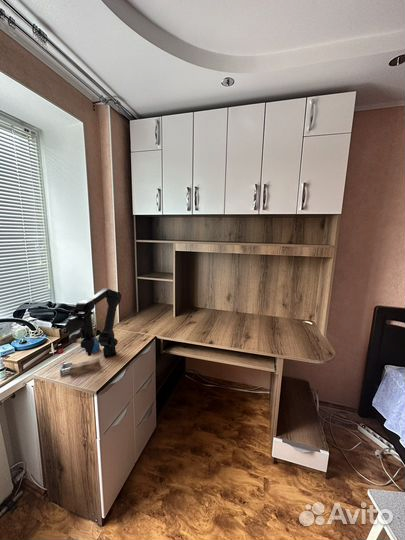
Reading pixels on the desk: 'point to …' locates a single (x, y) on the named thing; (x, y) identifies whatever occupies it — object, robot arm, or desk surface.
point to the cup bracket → (67, 370)
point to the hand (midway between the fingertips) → (90, 352)
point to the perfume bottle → (95, 345)
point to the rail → (84, 367)
